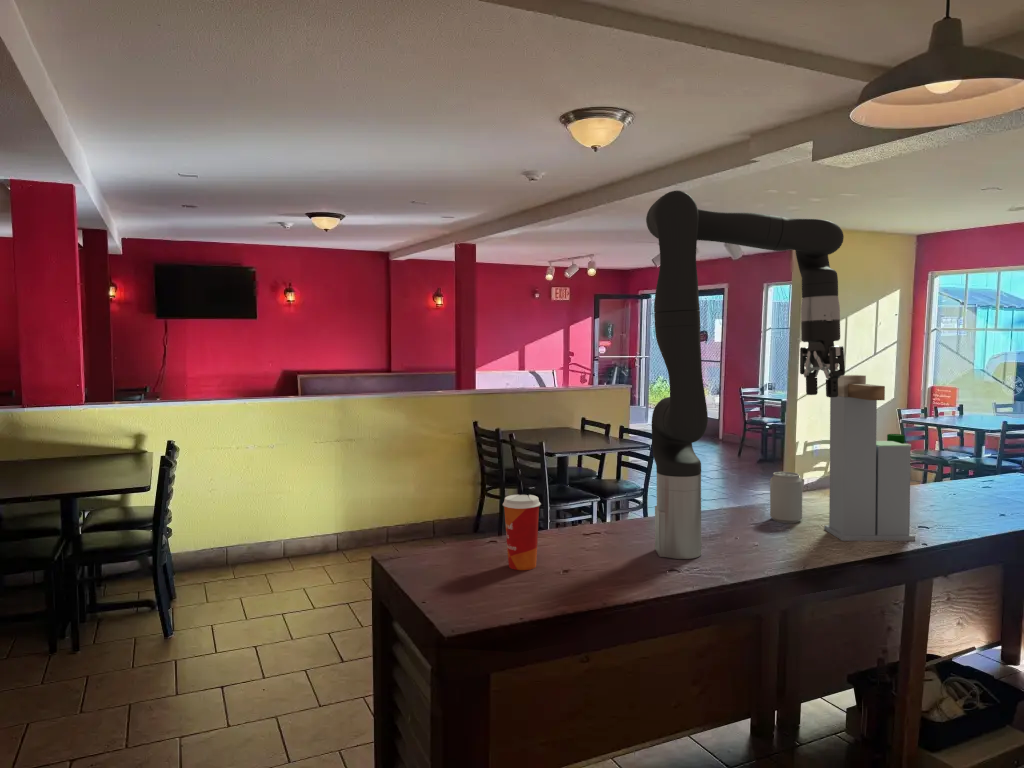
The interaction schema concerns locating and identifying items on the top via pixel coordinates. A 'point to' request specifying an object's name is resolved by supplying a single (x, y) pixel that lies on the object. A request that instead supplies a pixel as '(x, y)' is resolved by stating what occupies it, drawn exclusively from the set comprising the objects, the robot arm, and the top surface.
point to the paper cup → (522, 530)
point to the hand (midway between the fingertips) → (821, 396)
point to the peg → (859, 388)
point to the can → (786, 497)
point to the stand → (866, 476)
